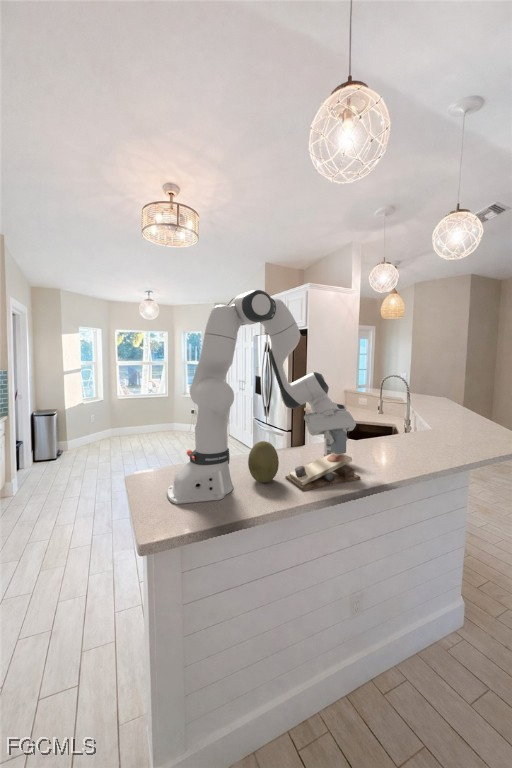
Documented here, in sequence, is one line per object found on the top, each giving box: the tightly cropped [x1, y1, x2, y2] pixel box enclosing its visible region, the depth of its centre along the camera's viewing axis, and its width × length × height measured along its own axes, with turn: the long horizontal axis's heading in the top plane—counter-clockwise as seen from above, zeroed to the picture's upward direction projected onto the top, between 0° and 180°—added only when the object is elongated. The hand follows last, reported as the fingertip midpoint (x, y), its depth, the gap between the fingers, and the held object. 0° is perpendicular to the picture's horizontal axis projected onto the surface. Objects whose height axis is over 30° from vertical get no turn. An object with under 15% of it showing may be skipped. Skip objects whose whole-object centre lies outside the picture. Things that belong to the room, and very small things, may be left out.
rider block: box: [331, 430, 347, 455], centre depth 121 cm, size 4×4×8 cm
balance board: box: [289, 453, 353, 486], centre depth 118 cm, size 22×9×4 cm, turn 112°
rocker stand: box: [285, 464, 361, 492], centre depth 119 cm, size 25×12×4 cm, turn 112°
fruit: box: [247, 440, 280, 484], centre depth 117 cm, size 11×11×15 cm
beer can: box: [323, 433, 333, 457], centre depth 140 cm, size 6×6×16 cm
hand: (339, 441), depth 120 cm, fingers closed on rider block, 4 cm apart
